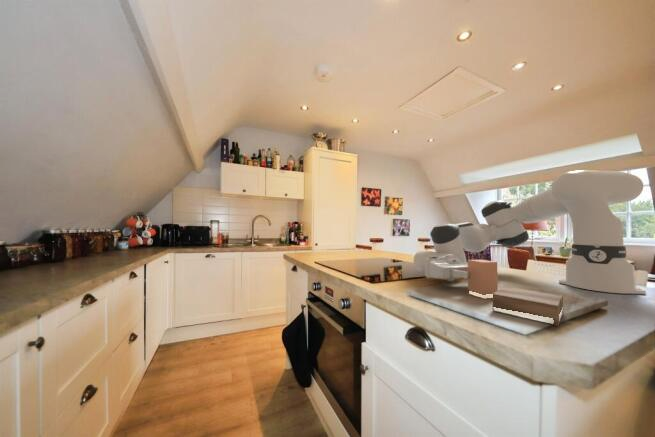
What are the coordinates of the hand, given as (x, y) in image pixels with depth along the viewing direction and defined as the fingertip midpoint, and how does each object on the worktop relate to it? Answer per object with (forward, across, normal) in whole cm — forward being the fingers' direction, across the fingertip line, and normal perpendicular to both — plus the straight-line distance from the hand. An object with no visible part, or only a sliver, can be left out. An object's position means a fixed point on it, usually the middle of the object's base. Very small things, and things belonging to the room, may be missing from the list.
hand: (482, 275), depth 68 cm
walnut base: (+13, +1, -6) cm, 14 cm away
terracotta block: (0, 0, -6) cm, 6 cm away
